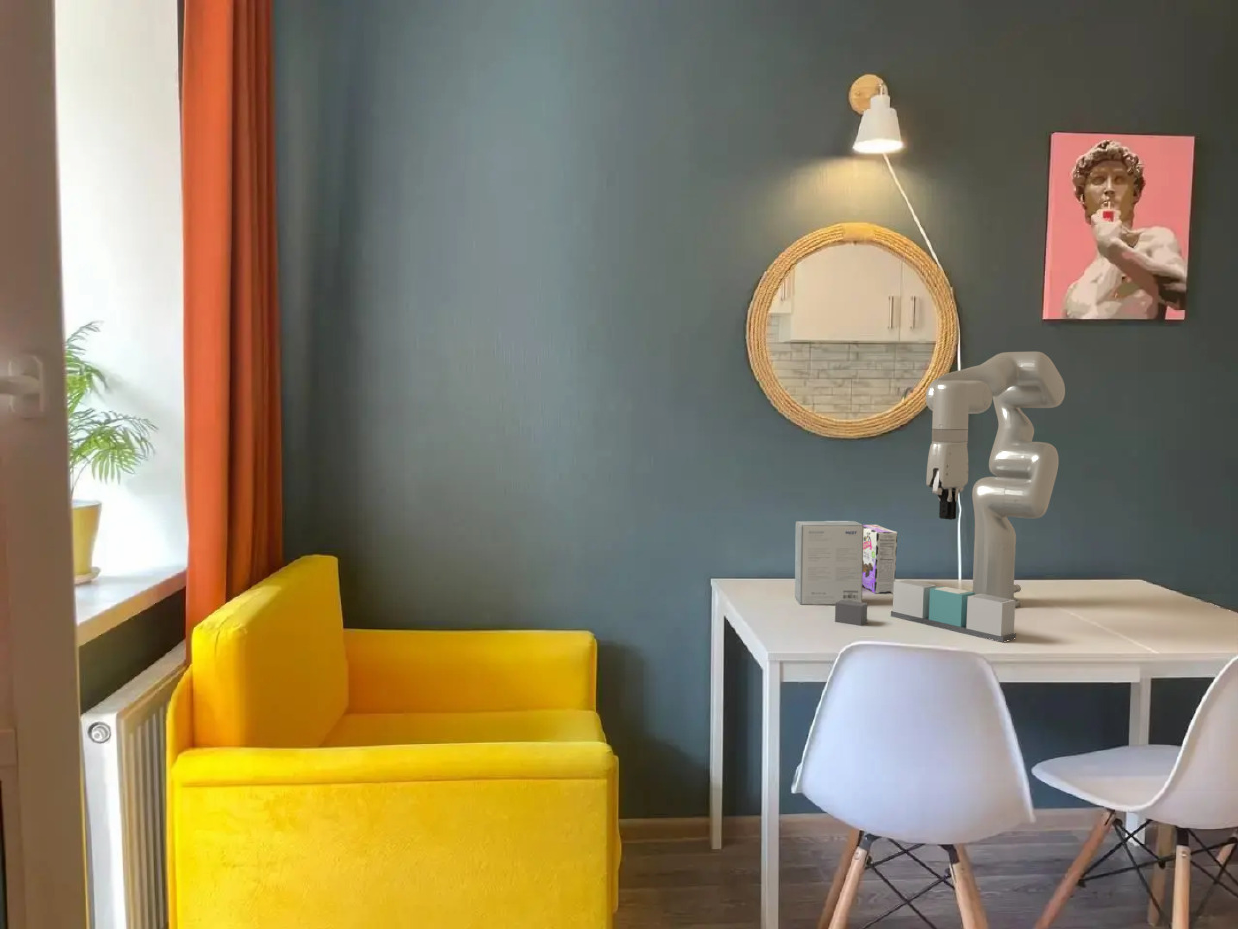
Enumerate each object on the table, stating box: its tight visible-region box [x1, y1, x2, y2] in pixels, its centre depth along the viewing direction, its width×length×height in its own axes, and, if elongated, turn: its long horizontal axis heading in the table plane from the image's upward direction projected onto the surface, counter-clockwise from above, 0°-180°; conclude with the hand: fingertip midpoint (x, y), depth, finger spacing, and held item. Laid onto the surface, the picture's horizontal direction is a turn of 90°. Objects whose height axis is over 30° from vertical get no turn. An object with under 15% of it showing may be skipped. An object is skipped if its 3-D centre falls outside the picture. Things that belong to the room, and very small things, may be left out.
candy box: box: [862, 524, 898, 594], centre depth 244 cm, size 14×6×16 cm, turn 6°
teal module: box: [929, 585, 975, 627], centre depth 203 cm, size 5×8×7 cm, turn 36°
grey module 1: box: [892, 579, 938, 618], centre depth 210 cm, size 8×5×7 cm, turn 37°
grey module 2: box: [966, 594, 1016, 636], centre depth 195 cm, size 8×5×7 cm, turn 37°
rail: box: [890, 610, 1017, 643], centre depth 203 cm, size 28×5×1 cm, turn 37°
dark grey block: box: [834, 600, 868, 627], centre depth 206 cm, size 4×6×4 cm, turn 56°
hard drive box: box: [794, 520, 864, 606], centre depth 227 cm, size 16×8×20 cm, turn 90°
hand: (947, 518), depth 205 cm, fingers closed
